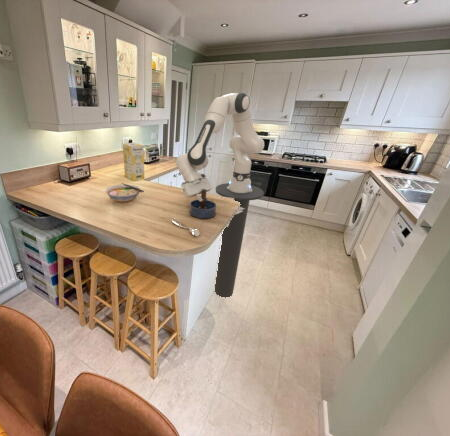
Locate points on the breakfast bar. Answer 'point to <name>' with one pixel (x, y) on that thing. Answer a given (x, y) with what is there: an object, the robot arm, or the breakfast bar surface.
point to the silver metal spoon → (192, 230)
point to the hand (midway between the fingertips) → (204, 200)
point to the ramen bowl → (123, 192)
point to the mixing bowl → (202, 213)
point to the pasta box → (133, 161)
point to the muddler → (203, 199)
